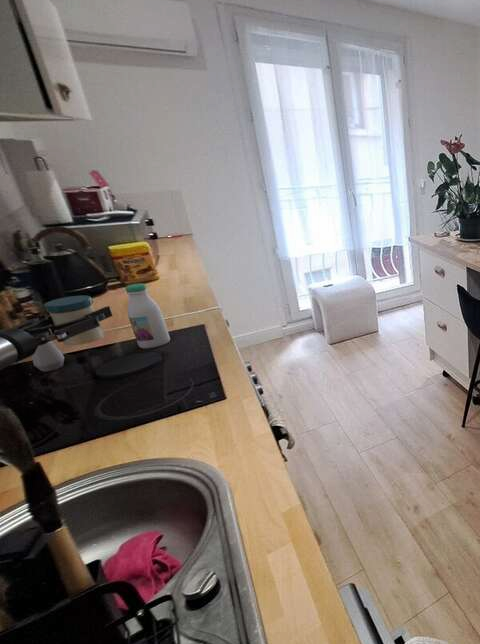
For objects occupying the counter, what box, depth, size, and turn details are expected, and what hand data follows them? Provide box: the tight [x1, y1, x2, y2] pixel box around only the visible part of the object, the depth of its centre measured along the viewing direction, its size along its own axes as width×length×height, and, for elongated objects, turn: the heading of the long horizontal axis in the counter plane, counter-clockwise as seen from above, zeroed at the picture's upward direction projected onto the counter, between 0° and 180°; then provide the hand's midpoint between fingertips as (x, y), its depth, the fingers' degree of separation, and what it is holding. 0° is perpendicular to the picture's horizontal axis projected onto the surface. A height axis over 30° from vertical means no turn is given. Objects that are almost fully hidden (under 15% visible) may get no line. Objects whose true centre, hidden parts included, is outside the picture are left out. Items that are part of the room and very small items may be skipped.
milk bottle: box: [124, 283, 171, 349], centre depth 129 cm, size 8×8×20 cm
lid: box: [43, 294, 94, 314], centre depth 104 cm, size 8×8×2 cm
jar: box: [49, 304, 105, 347], centre depth 106 cm, size 8×8×10 cm
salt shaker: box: [31, 341, 65, 372], centre depth 115 cm, size 6×6×13 cm
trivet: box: [94, 351, 163, 380], centre depth 118 cm, size 14×14×1 cm
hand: (92, 311), depth 110 cm, fingers closed on jar, 8 cm apart
